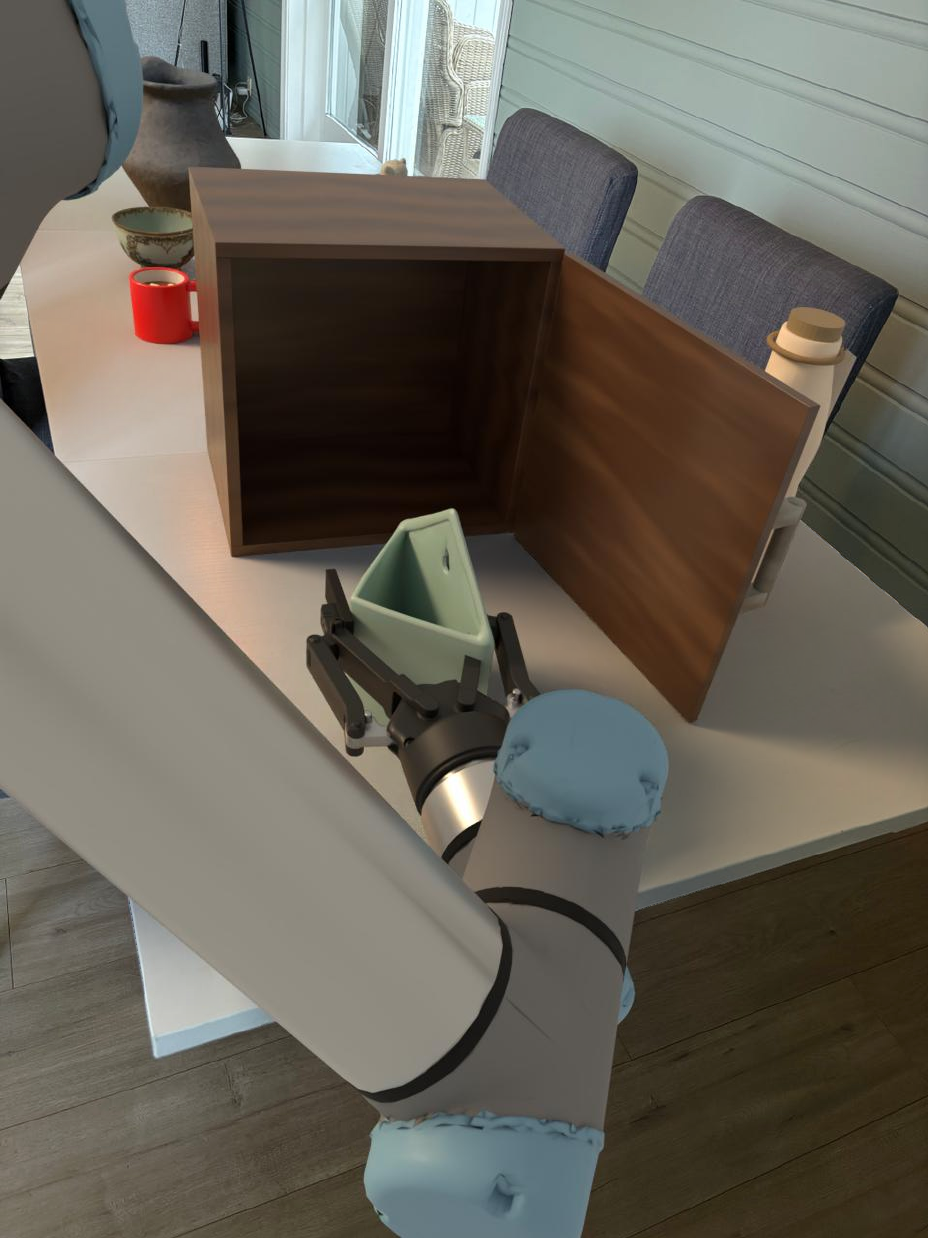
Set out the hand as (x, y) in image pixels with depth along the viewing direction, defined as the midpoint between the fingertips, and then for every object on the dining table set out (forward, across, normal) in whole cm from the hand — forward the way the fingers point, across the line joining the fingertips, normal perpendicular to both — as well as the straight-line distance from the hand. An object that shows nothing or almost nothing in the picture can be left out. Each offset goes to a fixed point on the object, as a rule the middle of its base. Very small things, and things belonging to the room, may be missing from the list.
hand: (385, 577), depth 73 cm
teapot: (+96, +24, -11) cm, 99 cm away
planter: (-5, 0, -11) cm, 12 cm away
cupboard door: (+5, +26, -11) cm, 29 cm away
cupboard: (+31, +5, -11) cm, 33 cm away
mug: (+75, -10, -11) cm, 77 cm away
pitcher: (+127, -5, -11) cm, 128 cm away
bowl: (+101, -11, -11) cm, 102 cm away
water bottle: (+10, +42, -11) cm, 45 cm away
